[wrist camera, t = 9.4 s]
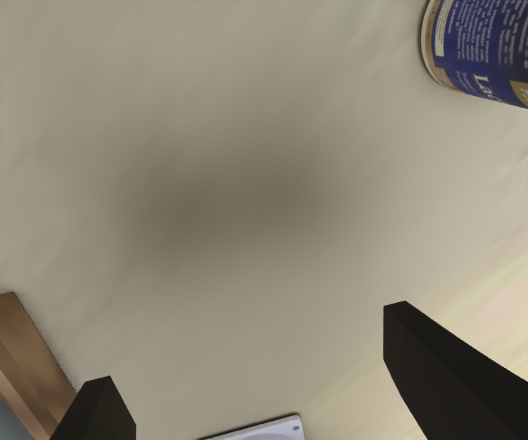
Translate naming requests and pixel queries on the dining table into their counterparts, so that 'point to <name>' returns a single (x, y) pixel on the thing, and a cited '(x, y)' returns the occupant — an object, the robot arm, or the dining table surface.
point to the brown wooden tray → (30, 373)
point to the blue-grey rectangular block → (11, 425)
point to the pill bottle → (479, 47)
